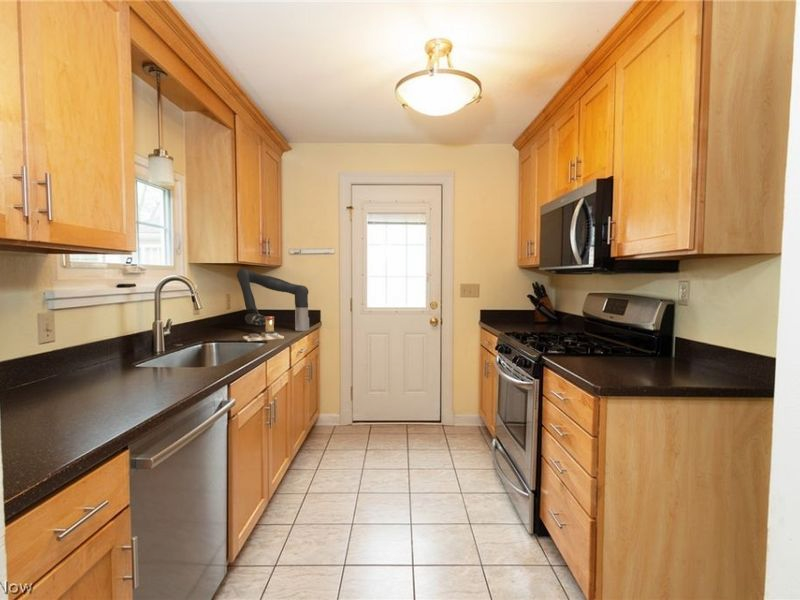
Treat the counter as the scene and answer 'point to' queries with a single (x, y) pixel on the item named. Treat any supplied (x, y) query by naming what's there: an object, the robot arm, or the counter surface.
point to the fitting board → (262, 336)
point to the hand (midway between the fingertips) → (266, 322)
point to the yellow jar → (269, 324)
